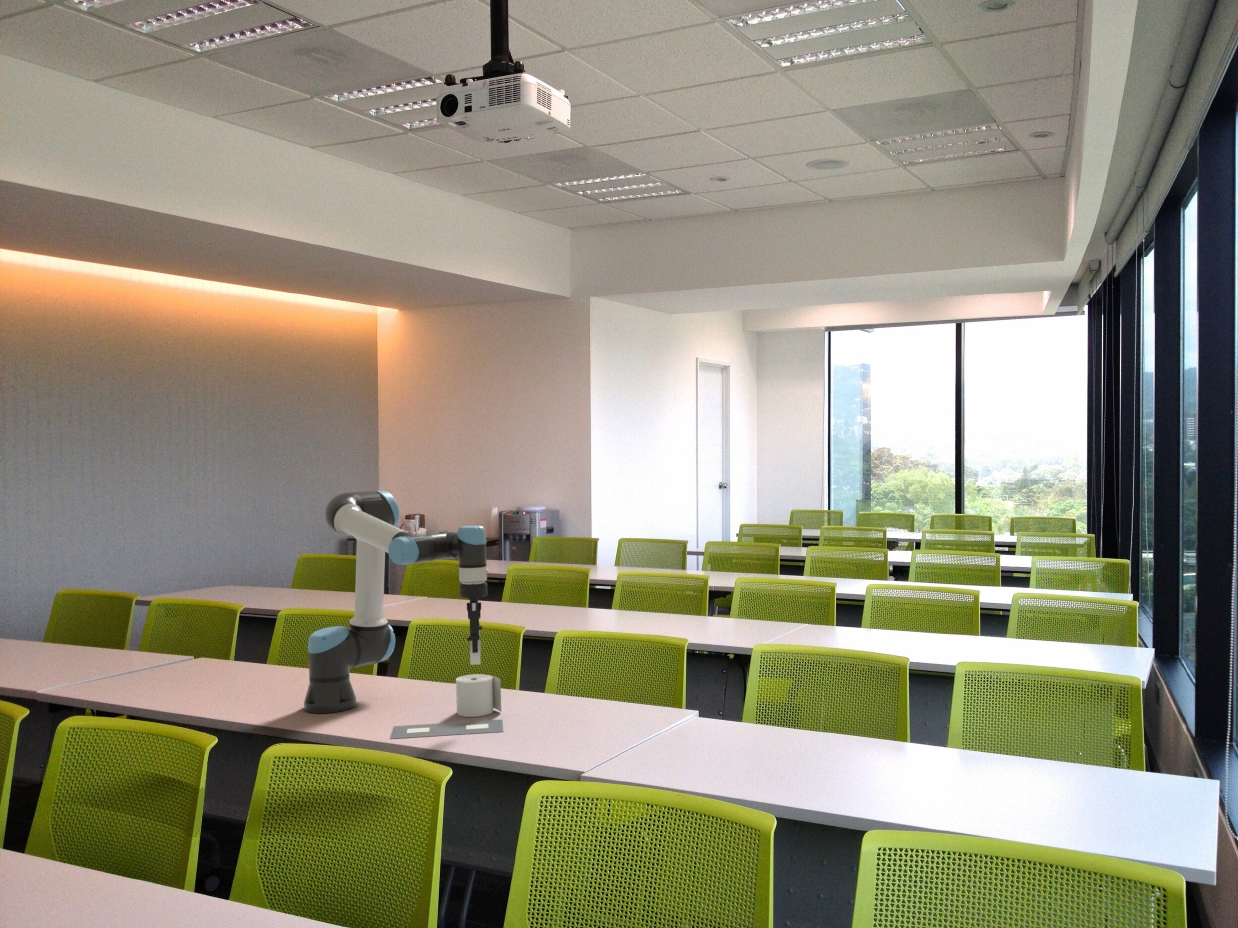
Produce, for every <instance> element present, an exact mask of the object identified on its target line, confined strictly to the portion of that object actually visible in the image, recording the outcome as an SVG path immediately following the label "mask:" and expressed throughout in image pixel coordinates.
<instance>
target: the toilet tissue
mask: <svg viewBox="0 0 1238 928" xmlns="http://www.w3.org/2000/svg"><path fill="white" fill-rule="evenodd" d="M501 682H502V681H501V678H499V677H497V676H495V675H494V676H493V675H491V674H484V673H475V674H473V673H472V674H466V675H465V674H464V675H461V676H458V677H456V679H455V690H456V691H455V692H456V694H455V695H456V699H455V700H456V703H455V704H456V714H457V715H458V716H461V717H467V718H470V717H471V718H473V717H474V718H476V717H483V716H488V715H490V714H492V713H493V712H494V709H495V710H498V711H499V712H502V694H501V693H502V691H501V690H502V689H501Z"/></svg>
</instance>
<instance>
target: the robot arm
mask: <svg viewBox="0 0 1238 928" xmlns="http://www.w3.org/2000/svg"><path fill="white" fill-rule="evenodd" d="M324 518H325V519H324V520H325V521H326V524H327V526H328V527H329V529H331V530H332V531H334V532H336V533H337V534H340V535H342V536H352V537H354V539H356V555H355V556H356V558H355V559H356V562H355V586H354V587H355V589H354V590H355V591H354V592H355V593H354V615H353V617H352V618H350V620H349V626H348V627H349V628H348V627H347V626H344V625H335V626H330V627H329V626H328V627H325V628H321V629H318V630H316V631H314V632H312V633H311V634H310V635H309V637H308V644H307V653H308V675H309V676H308V677H309V678H308V679H309V682H308V683H309V684H308V687H307V690H306V695H305V698H304V701H303V709H304V711H306V712H308V713H313V714H330V713H332V714H333V713H338V712H344V711H347V710H350V709H352V708H354V707H356V706H357V696H356V694H355V691H354V688H353V686H352V683H351V679H350V678H351V677H350V669H353V668H358V667H362V666H368V665H375V664H376V665H377V664H378V663H380V662H384V661H386V660H388V659H389V657H391V656H392V654H393V652H394V650H395V645H396V636H395V633H394V629H393V627H392V626H391V625H390V624H388V623H389V620H388V619H387V618H386V617H385V616H384V595H385V569H386V568H385V564H386V553H387V554H388V556H389V559H390V560H391V562H392V563H394V564H395V565H399V566H400V565H405V566H409V565H412V564H413V565H414V564H420V563H427V562H433V561H442V560H443V561H444V560H458V578H459V582H460V584H459V596H460V597H461V598H463V599H468V600H469V602H467V603H466V612H467V619H468V620H469V637H467V638H466V640H467V642H469V655H470V656H469V660H470V666H471V665H473V666H474V665H481V631H482V630H483V626H482V625H480V624H481V623H480V619H481V617H482V616H481V615H482V613H481V610H482V601H480V602H479V598H485V597H487V596H488V583H487V582H486V581H487V580H488V577H487V576H488V575H487V574H488V573H490V570H489V569H487V538H486V529H485V527H484V526H482V525H464V526H463V525H462V526H459V527H458V528H457V529H458V530H457V532H453V531H448V530H443V531H436V532H434V533H429V534H428V533H427V534H425V533H424V534H413V533H411V532H409V531H405V530H403V529H401V528H399V527H397V525H398V522H399V521H400V508H399V505H398V502H397V500H396V499H395V497H394V496H393V495H392V494H391V493H390V492H389V491H387V490H374V489H373V490H365V491H351V492H342V493H340V494H337V495H336V496H335V495H334V497H332V498H331V499H330V500H329V502H327V505H326V506H325V510H324Z"/></svg>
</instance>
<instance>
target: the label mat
mask: <svg viewBox="0 0 1238 928" xmlns="http://www.w3.org/2000/svg"><path fill="white" fill-rule="evenodd" d="M488 733H489V734H491V733H492V734H493V733H504V721H503V719H489V720H472V721H471V720H470V721H457V722H456V721H455V722H442V723H441V722H440V723H424V724H423V723H422V724H421V723H420V724H407V725H405V724H404V725H395V726H393V728H392V731H391V735H390V738H389V739H390V740H395V739H411V738H412V739H413V738H425V737H426V738H427V737H442V736H456V735H457V736H459V735H474V734H488Z"/></svg>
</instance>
